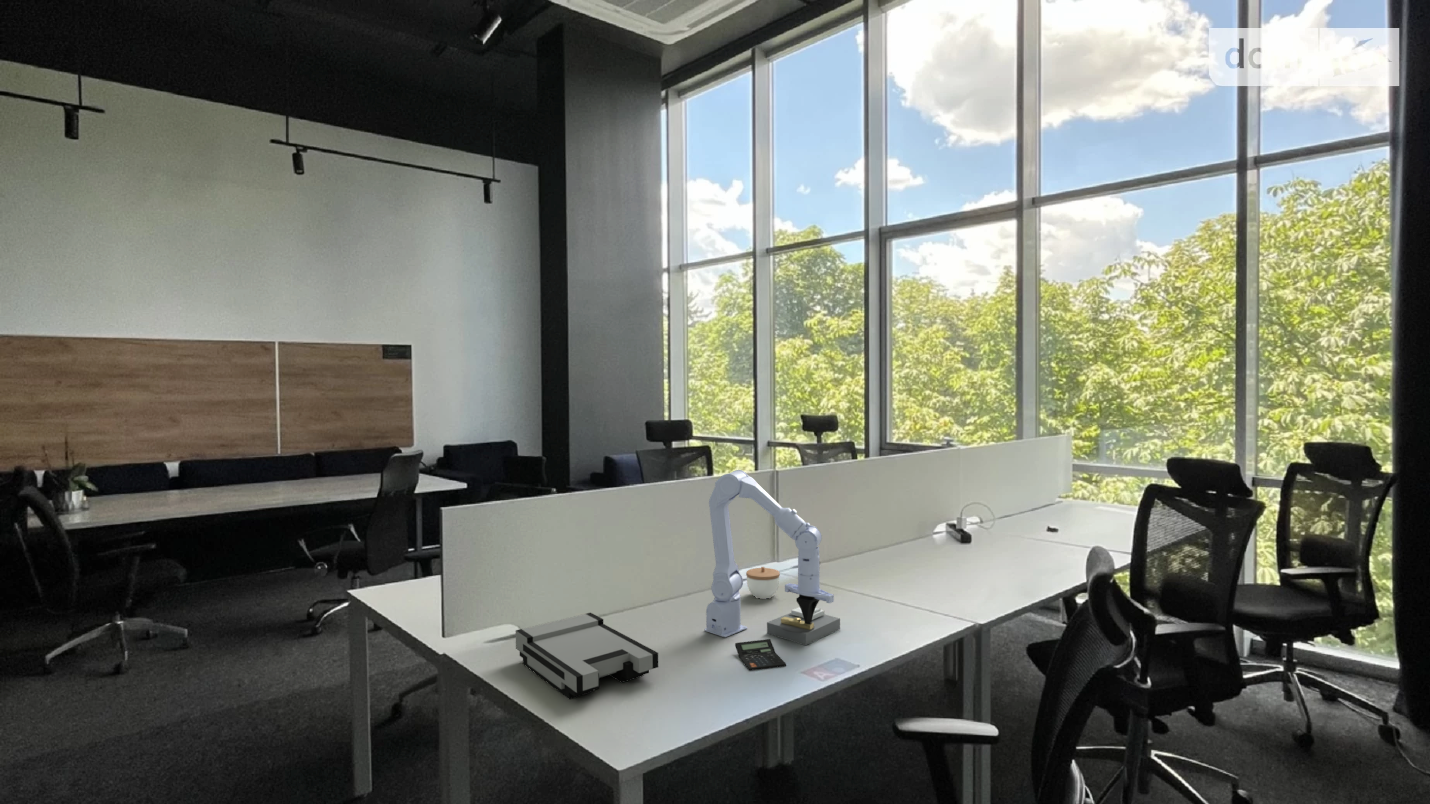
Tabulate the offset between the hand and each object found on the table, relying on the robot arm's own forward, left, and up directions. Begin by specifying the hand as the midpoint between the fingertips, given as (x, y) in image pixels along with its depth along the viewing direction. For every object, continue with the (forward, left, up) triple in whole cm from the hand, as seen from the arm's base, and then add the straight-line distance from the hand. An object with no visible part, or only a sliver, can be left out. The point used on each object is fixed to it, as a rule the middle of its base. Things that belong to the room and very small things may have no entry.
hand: (808, 623), depth 186 cm
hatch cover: (+8, +6, -1) cm, 10 cm away
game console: (-53, +27, -5) cm, 60 cm away
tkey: (-1, +3, -1) cm, 3 cm away
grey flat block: (+4, +4, -4) cm, 7 cm away
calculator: (-19, +1, -5) cm, 20 cm away
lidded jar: (+21, +33, -4) cm, 39 cm away
